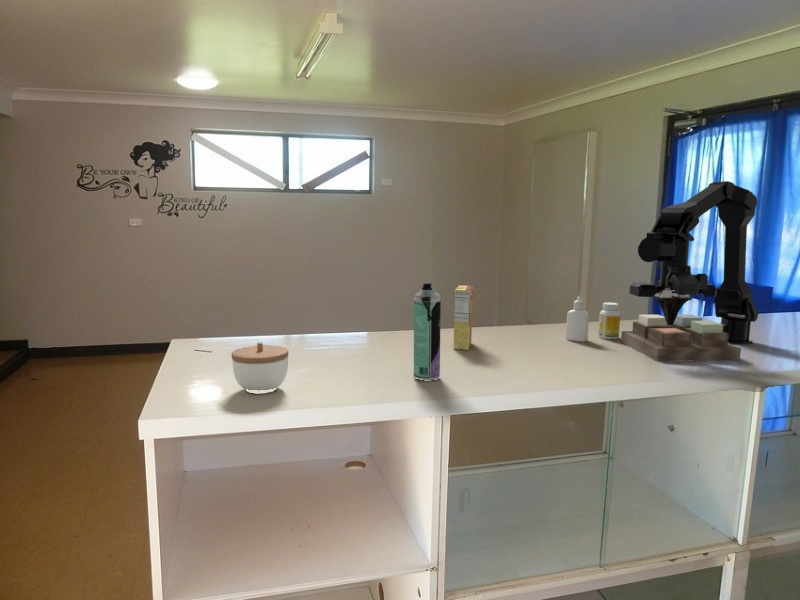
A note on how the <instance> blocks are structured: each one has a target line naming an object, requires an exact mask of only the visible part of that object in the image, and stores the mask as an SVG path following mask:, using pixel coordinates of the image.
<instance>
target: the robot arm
mask: <svg viewBox="0 0 800 600" xmlns="http://www.w3.org/2000/svg"><path fill="white" fill-rule="evenodd" d="M757 205H758V198H757V196H756V195H755V194H754V193H753V192H752V191H751V190H749V189H746V188H744V187H740V185H739V186H738V185H736V184H735V183H734V182H731V181H728V180H724V181H722V180H721V181H720V180H719V181H713V182H710V183H709V184H708V186H707V187H705V188H703V190H701V191H699V192H698V193H696V194H695V195H693V196H692V197H690V198H688V199H687V200H686V201H684V202H681V203H675V204H672V205H668V206H666V207H664V208H663V209H662V210H661V212H660V214H659V216H658V217H657V219H656V222H655V223H654V225H653V227H652V229H651V231H650V232H649V231H648V232H646V236H645V238H643V239H642V240H641V241H640V243H639V245H638V246H637V255H638V256H639V258H640V259H641V260H642V261H643V262H645V263H656V262H657V263H658V267H657V268H658V269H660V273H659V274H660V275H659V277H660V279H659V280H656V281H657V285H655V284H653V283H648V282H632V283H631V285H629V291H628V292H629V294H630V295H633V296H636V297H639V298H653V299H656V301H657V302H658V305H659V307H660V310H661V311H662V315H663V317H665V320H666V322H667V325H673V323H674V321H675V319H676V317H677V315H678V314H679V312H680V311H681V309H682V308H683V305H684V304H686V303H687V302H688V301H692V299H693V297H690V295H692V296H698V294H700V295H702V297H704V298H705V297H706V298H708V297H710V298H711V297H714V301H713V303H714V310H715V317H716V318H720V320H721V321H720V324H723V329H722V331H723V332H726V333H728V334H729V336H728V343H729V344H754V343H753V342H754V341H752V340H750V332H751V323H753V322H756V321H757V320H758V318H759V317H758V316H759V310H758V308H757V306H756V305H755V303H754V301H753V297H752V293H753V292H752V289H751V288H750V287H749V285H748V283H747V282H746V264H747V263H746V260H747V259H746V258H747V234H748V232H747V231H748V225H750V224H749V223H750V222H751V221H752V219H753V218H754V217H755V215H756V208H757ZM714 207H716V208H717V213H718V214H717V215H718V218H719V219H720V221H721V222H722V225H724V253H723V254H724V255H723V257H724V258H723V259H724V261H723V282H722V283H721V284H720V285H719V287H716V285H715V284H713V283H709V276H708V274H706V273H697V274H692V272H691V271H692V268H691V265H688V263H689V261H688V260H689V252H690V242H694V241H695V238H694V236H693V235H692V234H691V233H690V232H692V231H693V230H694V229H695V228H696V227H697V226H698V225H699V223H700V217H701V216H702V215H705V213H707V212H708V211H710V210H711V209H713V208H714Z"/></svg>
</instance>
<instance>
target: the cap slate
mask: <svg viewBox="0 0 800 600" xmlns="http://www.w3.org/2000/svg"><path fill="white" fill-rule="evenodd" d="M691 321H703V317H701V316H698V315H695V314H691V313H690V314H689V313H688V314H685V313H684V314H683V313H682V314H679V313H678V315H677V317H676V319H675V321H674V323H675V324H677V325H680V326H691Z"/></svg>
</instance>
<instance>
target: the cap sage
mask: <svg viewBox="0 0 800 600" xmlns="http://www.w3.org/2000/svg"><path fill="white" fill-rule="evenodd" d="M720 323H721V322H720ZM720 323H719V322H716V321H713V320H702V321H691V330H694V331H696V332H699V333H722V329H723V324H720Z"/></svg>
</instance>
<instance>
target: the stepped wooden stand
mask: <svg viewBox="0 0 800 600" xmlns="http://www.w3.org/2000/svg"><path fill="white" fill-rule="evenodd" d="M655 328H675V329H678V330H680V331H683V332H685V333H671V334H664V333H661V332H659V331H657V330H655ZM728 336H729V334H728V333H726V332H723V331H722V333H699V332H696V331H694V330H691V326H680V325H677V324H675V323H673V325H667V326H645V325H642V324H640V323H639V320H638V321H637V320H635V321H632V330H628V331H627V330H622V331H621V338H620V342H621V344H624V345H625V344H626V346H627V345H628V347H629V346H630V347H629V348H631V347H632V348H631V349H633V348H634V349H633V350H635V351H637V352H639V353H640V352H641V354H642V353H643V355H644V354H645V355H644V356H646V357H648V358H650V359H652V360H654V361H655V362H683V361H684V362H687V361H688V362H689V361H690V362H691V361H692V362H694V361H696V362H697V361H698V362H699V361H702V362H703V361H705V362H706V361H710V362H711V361H712V362H714V361H717V362H718V361H741V351H742V347H740V346H737V345H735V344H733V343H728Z"/></svg>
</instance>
